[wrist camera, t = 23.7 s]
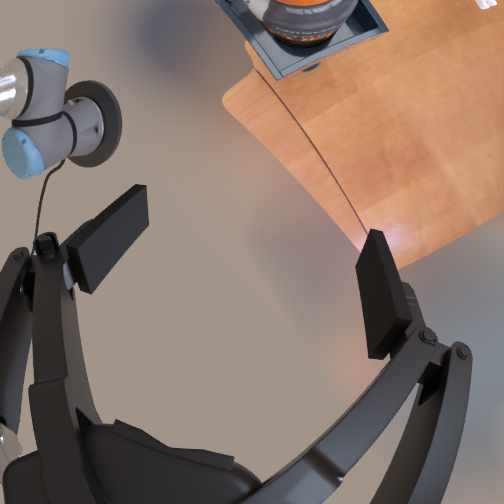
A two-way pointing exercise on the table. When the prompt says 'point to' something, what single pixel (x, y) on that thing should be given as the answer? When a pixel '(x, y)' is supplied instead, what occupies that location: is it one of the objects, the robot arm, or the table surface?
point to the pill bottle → (301, 19)
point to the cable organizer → (485, 3)
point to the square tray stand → (304, 59)
